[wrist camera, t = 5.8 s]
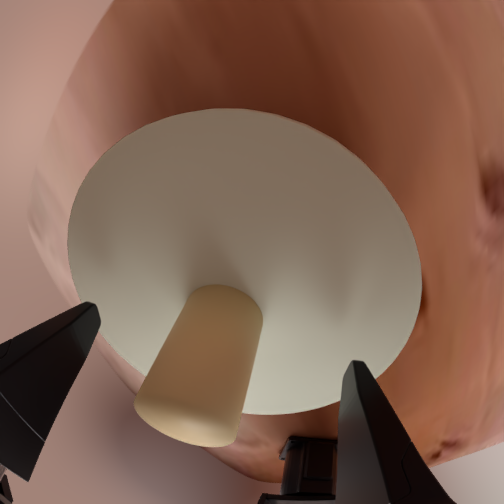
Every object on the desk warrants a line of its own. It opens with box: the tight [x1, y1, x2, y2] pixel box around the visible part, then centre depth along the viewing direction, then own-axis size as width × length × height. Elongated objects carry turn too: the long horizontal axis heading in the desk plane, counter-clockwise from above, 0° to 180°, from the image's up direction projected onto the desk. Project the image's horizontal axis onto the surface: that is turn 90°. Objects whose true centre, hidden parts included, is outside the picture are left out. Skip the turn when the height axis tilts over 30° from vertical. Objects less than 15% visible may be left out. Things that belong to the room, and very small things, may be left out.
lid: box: [67, 108, 422, 447], centre depth 10 cm, size 14×14×7 cm
